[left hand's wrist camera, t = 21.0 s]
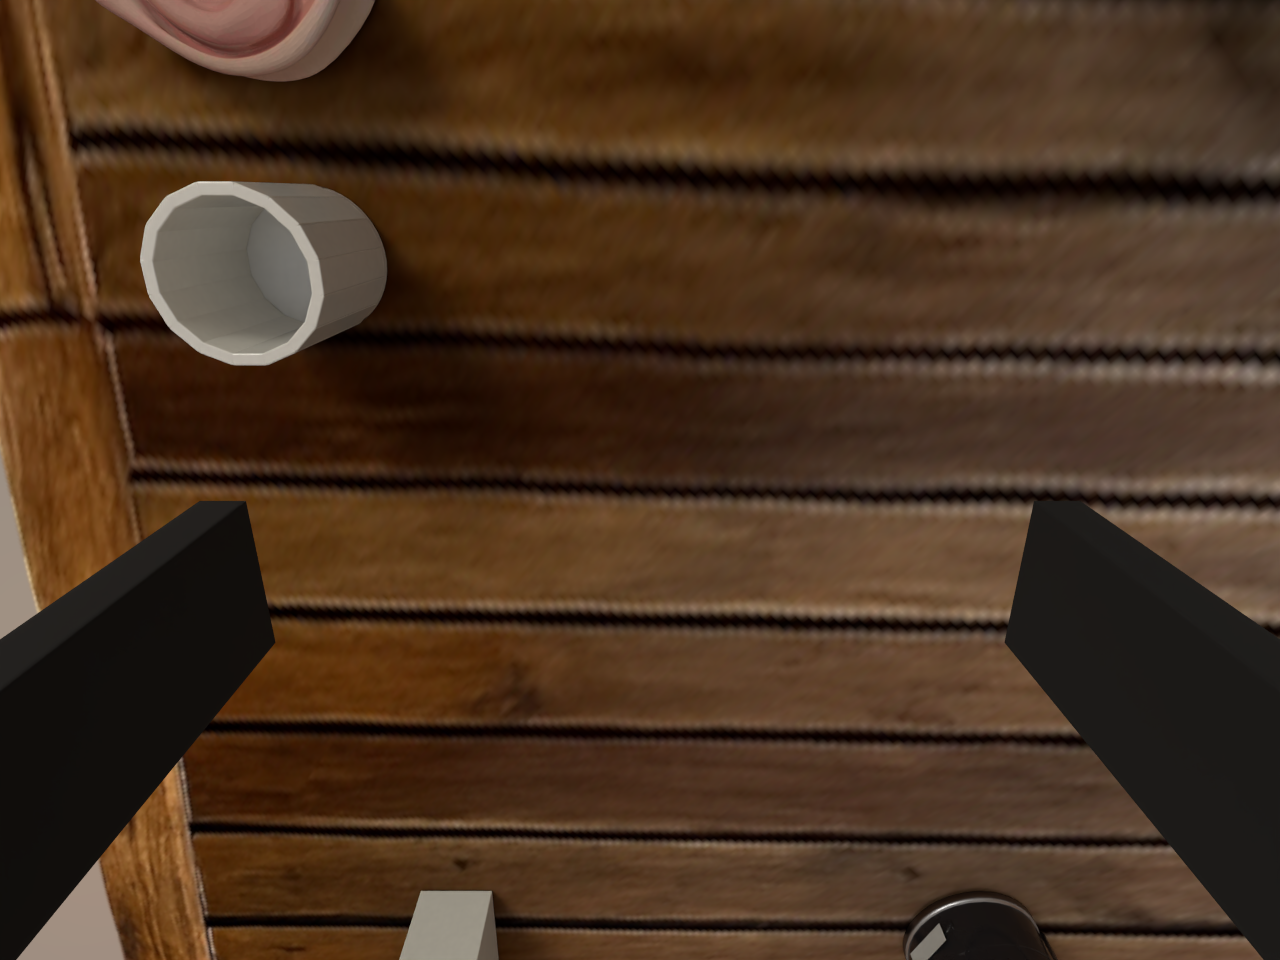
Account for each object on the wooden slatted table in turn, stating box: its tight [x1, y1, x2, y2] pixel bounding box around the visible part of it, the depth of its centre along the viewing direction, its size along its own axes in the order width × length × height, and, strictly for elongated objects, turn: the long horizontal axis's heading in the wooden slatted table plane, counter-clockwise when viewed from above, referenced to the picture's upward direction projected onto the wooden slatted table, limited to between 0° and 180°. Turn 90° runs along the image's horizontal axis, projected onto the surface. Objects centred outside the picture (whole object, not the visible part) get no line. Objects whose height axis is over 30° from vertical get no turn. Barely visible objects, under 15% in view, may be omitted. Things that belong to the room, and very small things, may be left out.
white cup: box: [140, 182, 387, 365], centre depth 33 cm, size 7×7×8 cm
